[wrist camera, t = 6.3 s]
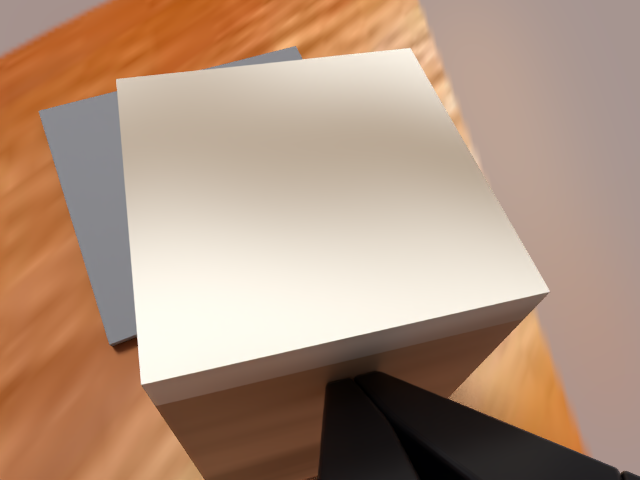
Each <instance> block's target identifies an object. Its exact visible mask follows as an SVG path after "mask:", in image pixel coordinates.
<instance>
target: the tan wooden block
mask: <svg viewBox="0 0 640 480" xmlns="http://www.w3.org/2000/svg"><path fill="white" fill-rule="evenodd" d="M116 83H117V95H118V107H119V119H120V132H121V144H122V156H123V168H124V181H125V193H126V205H127V217H128V229H129V242H130V254H131V266H132V278H133V290H134V303H135V315H136V327H137V339H138V352H139V364H140V376H141V385H142V387H143V388H144V390H145V391H146V393H147V394H148V396H149V397H150V399H151V400H152V402H153V403H154V405H155V406H156V408H157V409H158V411H159V412H160V414H161V415H162V417H163V418H164V420H165V421H166V423H167V424H168V425H169V427H170V428H171V430H172V431H173V433H174V434H175V436H176V437H177V439H178V440H179V442H180V443H181V445H182V446H183V448H184V449H185V451H186V452H187V454H188V455H189V457H190V458H191V460H192V461H193V463H194V464H195V466H196V467H197V469H198V470H199V472H200V473H201V475H202V476H203V478H204V479H205V480H305V479H308V478H312V477H315V476H318V465H319V454H320V442H321V431H322V419H323V408H324V396H325V387H326V384H328V383H329V382H333V381H337V380H341V379H346V378H351V379H353V380H354V378H355V377H356V376H358V375H362V374H366V373H370V372H374V371H381V372H384V373H386V374H389V375H391V376H393V377H396V378H398V379H401V380H403V381H406V382H408V383H411V384H413V385H415V386H418V387H420V388H423V389H425V390H428V391H430V392H432V393H435V394H437V395H440V396H442V397H445V398H448V397H449V396H450V395H451V394H452V393H453V392H454V391H455V390H456V389H457V388H458V387H459V386H460V385H461V384H462V383H463V382H464V381H465V380H466V379H467V378H468V377H469V376H470V374H471V373H472V372H473V371H474V370H475V369H476V368H477V367H478V366H479V365H480V364H481V363H482V362H483V361H484V360H485V359H486V358H487V357H488V356H489V355H490V354H491V353H492V352H493V351H494V350H495V348H496V347H497V346H498V345H499V344H500V343H501V342H502V341H503V340H504V339H505V338H506V337H507V336H508V335H509V334H510V333H511V332H512V331H513V330H514V329H515V328H516V327H517V326H518V325H519V324H520V323H521V321H522V320H523V319H524V318H525V317H526V316H527V315H528V314H529V313H530V312H531V311H532V310H533V309H534V308H535V307H536V306H537V305H538V304H539V303H540V302H541V301H542V300H543V299H544V297H546V295H547V294H548V293H549V292H550V291H549V289H548V287H547V285H546V284H545V282H544V280H543V278H542V277H541V275H540V273H539V271H538V270H537V268H536V266H535V264H534V263H533V261H532V259H531V258H530V256H529V254H528V252H527V251H526V249H525V247H524V245H523V244H522V242H521V240H520V238H519V237H518V235H517V233H516V231H515V230H514V228H513V226H512V224H511V223H510V221H509V219H508V218H507V216H506V214H505V212H504V210H503V209H502V207H501V205H500V203H499V202H498V200H497V198H496V197H495V195H494V193H493V191H492V190H491V188H490V186H489V184H488V183H487V181H486V179H485V177H484V176H483V174H482V172H481V170H480V169H479V167H478V165H477V163H476V162H475V160H474V158H473V156H472V155H471V153H470V151H469V149H468V148H467V146H466V144H465V143H464V141H463V139H462V137H461V136H460V134H459V132H458V130H457V129H456V127H455V125H454V123H453V122H452V120H451V118H450V116H449V115H448V113H447V111H446V109H445V108H444V106H443V104H442V102H441V101H440V99H439V97H438V96H437V94H436V92H435V90H434V89H433V87H432V85H431V83H430V82H429V80H428V78H427V76H426V75H425V73H424V71H423V69H422V68H421V66H420V64H419V62H418V61H417V59H416V57H415V55H414V54H413V52H412V50H411V49H410V48H407V49H397V50H388V51H378V52H369V53H360V54H350V55H341V56H331V57H322V58H312V59H303V60H293V61H284V62H274V63H265V64H255V65H246V66H236V67H227V68H217V69H208V70H199V71H189V72H180V73H170V74H161V75H151V76H142V77H132V78H123V79H116Z"/></svg>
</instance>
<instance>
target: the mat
mask: <svg viewBox="0 0 640 480" xmlns="http://www.w3.org/2000/svg"><path fill="white" fill-rule="evenodd" d="M293 60H303V59H302V57H301V55H300V54H299V52H298V50H297V48H296V46H294V47H291V48H287V49H283V50H279V51H275V52H271V53H267V54H263V55H259V56H255V57H251V58H247V59H243V60H239V61H235V62H231V63H227V64H223V65H219V66H215V67H211V68H207V69H203V70H208V69H217V68H227V67H236V66H246V65H255V64H265V63H274V62H284V61H293ZM39 114H40V117H41V121H42V124H43V127H44V130H45V134H46V137H47V140H48V144H49V147H50V150H51V153H52V157H53V160H54V163H55V167H56V170H57V173H58V177H59V180H60V183H61V186H62V190H63V193H64V196H65V200H66V203H67V206H68V210H69V213H70V216H71V219H72V223H73V226H74V229H75V233H76V236H77V239H78V243H79V246H80V249H81V252H82V256H83V259H84V262H85V266H86V269H87V272H88V275H89V279H90V282H91V285H92V289H93V292H94V295H95V299H96V302H97V305H98V308H99V312H100V315H101V318H102V322H103V325H104V328H105V332H106V335H107V338H108V341H109V345H111V346H114V345H117V344H119V343H122V342H125V341H127V340H130V339H132V338H135V337H137V327H136V315H135V303H134V290H133V278H132V266H131V254H130V242H129V229H128V217H127V205H126V193H125V181H124V168H123V156H122V144H121V132H120V119H119V107H118V95H117V91H116V92H112V93H108V94H104V95H100V96H96V97H92V98H88V99H84V100H80V101H76V102H72V103H68V104H64V105H60V106H56V107H52V108H48V109H44V110H41V111H39Z"/></svg>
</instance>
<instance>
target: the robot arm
mask: <svg viewBox="0 0 640 480" xmlns="http://www.w3.org/2000/svg"><path fill="white" fill-rule="evenodd" d="M317 480H640V476H637V475H635V474H633V473H630V472H628V471H623V472H621V474H620V472H619V471H618V469H617V468H615V467H613V466H610V465H608V464H605V463H603V462H600V461H598V460H596V459H593V458H591V457H588V456H586V455H583V454H581V453H579V452H576V451H574V450H571V449H569V448H566V447H564V446H561V445H559V444H557V443H554V442H552V441H549V440H547V439H544V438H542V437H540V436H537V435H535V434H532V433H530V432H527V431H525V430H523V429H520V428H518V427H515V426H513V425H510V424H508V423H505V422H503V421H501V420H498V419H496V418H493V417H491V416H488V415H486V414H484V413H481V412H479V411H476V410H474V409H471V408H469V407H467V406H464V405H462V404H459V403H457V402H454V401H452V400H449V399H447V398H445V397H442V396H440V395H437V394H435V393H432V392H430V391H428V390H425V389H423V388H420V387H418V386H415V385H413V384H411V383H408V382H406V381H403V380H401V379H398V378H396V377H393V376H391V375H389V374H386V373H384V372H381V371H374V372H370V373H366V374H362V375H358V376H356V377H355V378H354V380H353V379H351V378H346V379H341V380H337V381H333V382H329V383H328V384H326V387H325V396H324V408H323V419H322V431H321V442H320V454H319V465H318V476H317Z"/></svg>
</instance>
